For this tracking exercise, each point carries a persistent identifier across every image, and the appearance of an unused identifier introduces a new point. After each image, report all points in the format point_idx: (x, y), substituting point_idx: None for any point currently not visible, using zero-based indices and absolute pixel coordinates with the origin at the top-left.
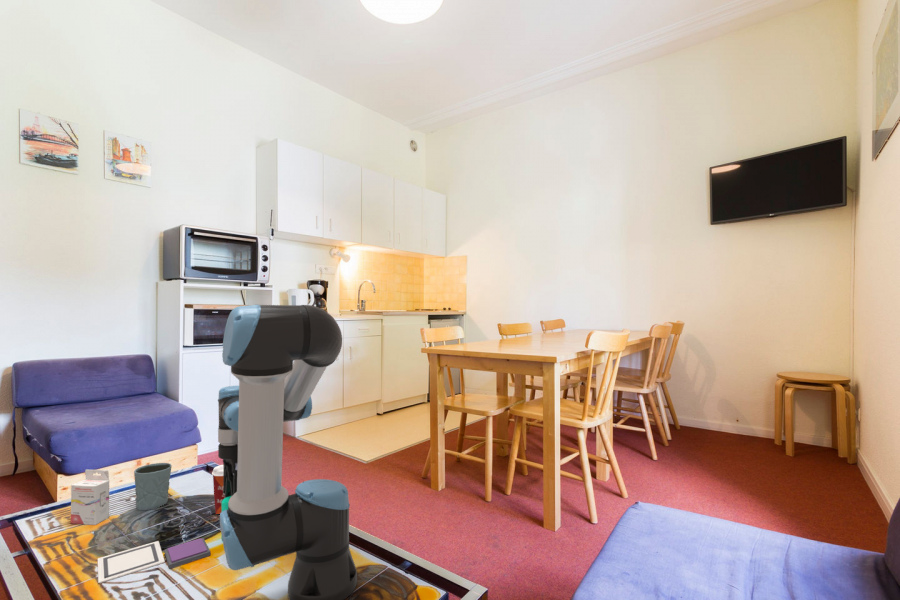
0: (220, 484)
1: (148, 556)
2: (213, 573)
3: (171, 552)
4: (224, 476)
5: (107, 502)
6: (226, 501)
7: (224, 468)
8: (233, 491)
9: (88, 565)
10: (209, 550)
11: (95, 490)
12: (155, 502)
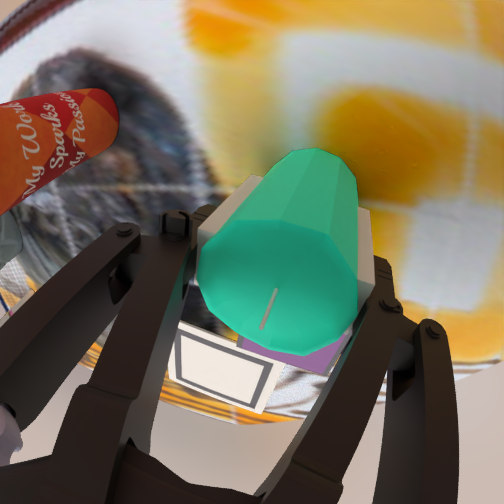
0: (18, 195)
1: (230, 359)
2: (451, 338)
3: (274, 355)
4: (72, 367)
5: (16, 310)
6: (252, 315)
7: (34, 419)
8: (386, 449)
9: (181, 387)
10: None
11: None
12: (11, 239)
